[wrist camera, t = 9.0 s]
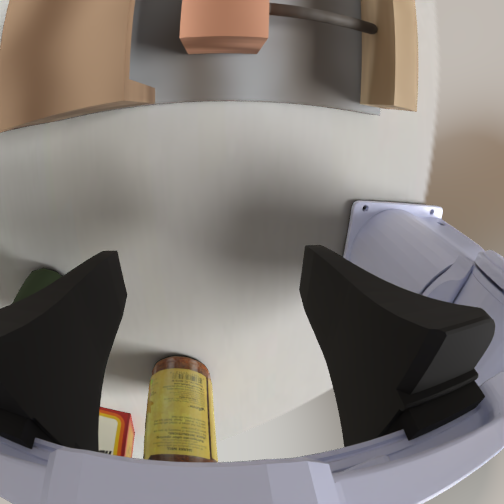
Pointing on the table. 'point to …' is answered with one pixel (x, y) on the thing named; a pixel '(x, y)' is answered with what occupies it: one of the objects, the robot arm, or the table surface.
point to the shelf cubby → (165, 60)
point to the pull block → (371, 24)
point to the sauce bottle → (180, 413)
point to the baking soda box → (115, 433)
